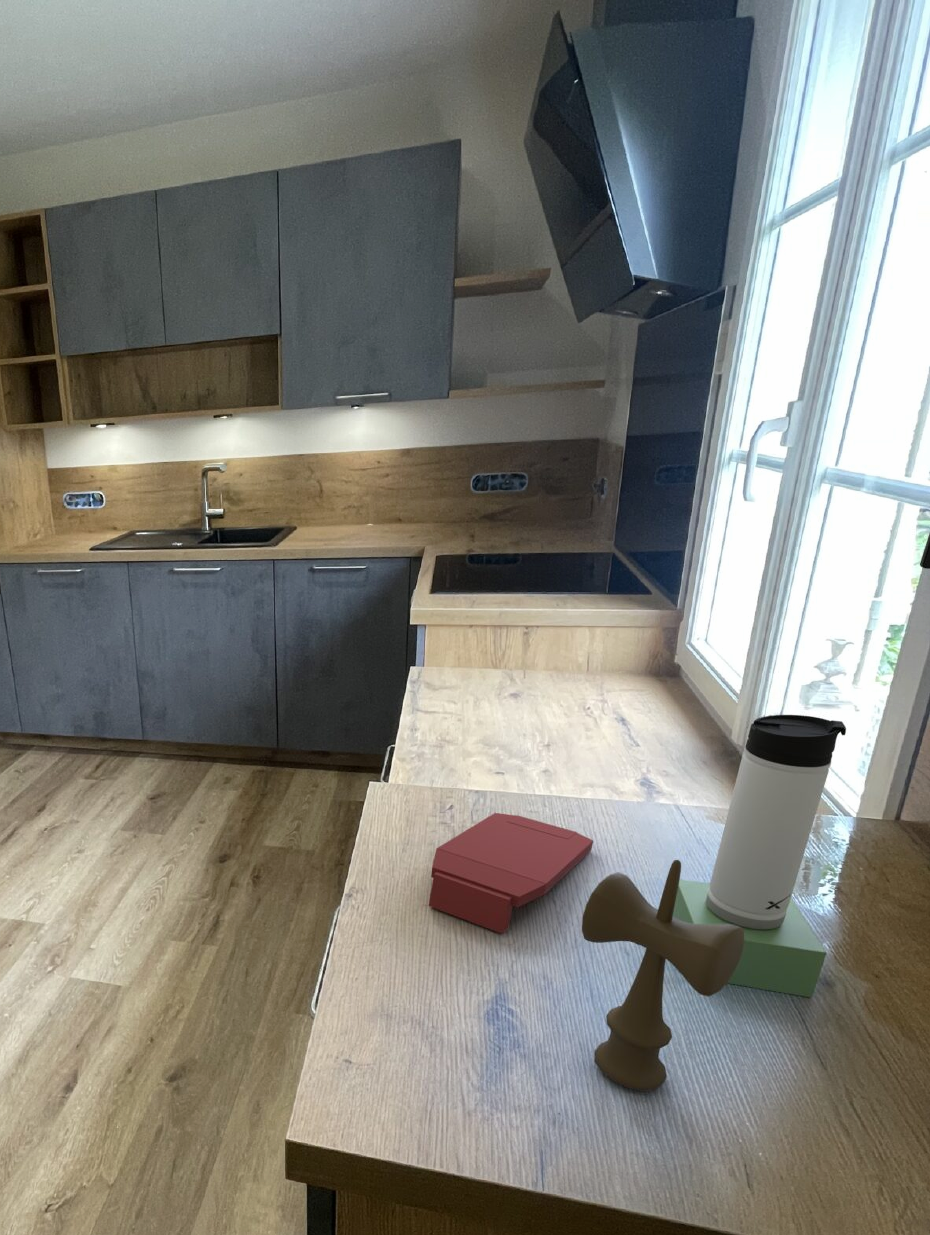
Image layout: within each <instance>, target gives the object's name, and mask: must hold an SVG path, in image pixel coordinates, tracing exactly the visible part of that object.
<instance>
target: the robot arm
mask: <svg viewBox="0 0 930 1235" xmlns="http://www.w3.org/2000/svg"><path fill="white" fill-rule="evenodd" d="M922 552H923V553H922V554H921V559H920V562H919V566H920V567H921V568H923V569H925V570H930V532H929V534H928V536H927V540H926V543H925V546H924V549H923V551H922Z"/></svg>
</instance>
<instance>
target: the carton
mask: <svg viewBox="0 0 930 1235" xmlns="http://www.w3.org/2000/svg"><path fill="white" fill-rule="evenodd" d="M593 844H594V840H593V839H591V838H589V837H587V836H585V835H583V834H581V833H578V832H577V831H575V830H572V829H569V828H568V829H567V828H563V827H560V826H557V825H553V824H549V823H546V822H542V821H539V820H535V819H532V818H528V817H524V816H521V815H517V814H516V815H515V814H506V813H500V812H494V813H492V814H490V815H489V816H487V817H486V818H484V819H483V820H480V821H479V822H477V823H476V824H474V825H473V826H470V827H469V828H468V829H466V830H464V831H463V832H461V833H459V834H458V835H456V836H454V837H453V838H451V839H450V840H447V841H446V842H445V843H443V844H441V845H440V846H438V847H437V848H436V849H435V853H434V857H433V862H432V867H431V876H430V878H432V883H431V889H430V893H429V894H430V895H429V900H428V907H430V908H433V909H436V910H439V911H441V912H444V913H446V914H449V915H451V916H455V917H456V918H459V919H463V920H465V921H467V922H470V923H473V924H476V925H477V926H480V927H483V928H487V929H489V930H491V931H494V932H497V933H499V934H503V933H504V932H506V931H507V930H508V929H509V928H510V923H511V919H512V914H513V908H520V907H523V906H524V905H526V904H528V903H530V902H533V901H535V900H537V899H538V898H541V897H542V896H544V895H546V894H547V893H548V892H549V891H550V890H551V889H552V888H553V887H554V886H555V885H556V884H558V883H559V881H561V879H563V878H564V877H565V876H566V875H567V874H568V873H569V872H570V871H571V870H573V869H574V867H575V866H577V865H578V864H579V863H580V862H581V861H582V860H583V859H584V858H585V857H586V856H587V855H588V854H590V852H592V849H593Z"/></svg>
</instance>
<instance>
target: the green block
mask: <svg viewBox="0 0 930 1235" xmlns="http://www.w3.org/2000/svg"><path fill="white" fill-rule="evenodd" d="M709 886H710V882H704V881H703V882H702V881H695V880H689V879H681V878H680V880H679V885H678V891H677V896H676V901H675V907H674V912H673V917H674V918H676V919H679V920H681V921H684V922H688V923H692V924H732V923H730V922H727V921H725V920H723V919H722V918H720V917H718V916H717V915H715V914H714V913H713V912H712V911H711V910H710V909H709V908H708V906H707V904H706V898H707V894H708V890H709V888H710V887H709ZM733 925H735V924H733ZM737 926H738V925H737ZM739 927H740V928H742V929H743V931H744V940H745V942H744V947H743V952H742V955H741V957H740V960H739V963H738V965H737V967H736V969H735V971H734V973H733V975H732V976H731V978H730V979H729V980H728V982H727V983H726V984H729V985H730V984H731V985H736V986H741V987H742V986H743V987H747V988H754V989H760V990H766V991H771V992H777V993H783V994H788V995H795V996H800V997H806V998H813V996H814V993H815V989H816V986H817V983H818V981H819V977H820V974H821V971H822V968H823V965H824V962H825V959H826V956H827V951H826V950H825V948H824V946H823V945H822V944H821V942H820V940H819V938H818V937H817V936H816V934H815V932H814V931H813V929H812V927H811V926H810V924H809V923H808V921H807V920H806V917H805V916H804V915H803V913H802V911H801V910H800V908H799V907H798V905H797V903H796V902H795V901H794V898H793V897H792V896H791V899H790V902H789V905H788V908H787V912H786V915H785V919H784V922H783V923H782V925H780V926H779V927H777V928H774V929H767V930H758V929H750V928H745V927H741V926H739Z"/></svg>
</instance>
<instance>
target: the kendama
mask: <svg viewBox="0 0 930 1235" xmlns="http://www.w3.org/2000/svg"><path fill="white" fill-rule="evenodd" d="M681 873H682V862H681V860H679V859H674V860H673V861H672V863H671V865H670V867H669V870H668V874H667V877H666V880H665V883H664V887H663V890H662V894H661V897H660V901H659V904H658V908H655V907H654V906H652V905H651V903H650V902H648V900H647V899H646V898H645V897H644V896H643V894H642V892H641V891H640V890H639V888H638V887H637V886H636V884H635V883H634V882H633V880H632V879H631V878H630V877H629V876H628V875H626V874H624V873H622V872H619V871H617V872H614V873H611V874H609V875H607V876H606V877H605V878H604V879H602V880H601V881H600V882H599V883H598V884H597V885H596V887H595V888H594V889H593V891H592V892H591V894H590V896H589V898H588V900H587V902H586V904H585V907H584V911H583V914H582V918H581V919H582V920H581V933H582V937H583V939H584V940H585V941H587V942H589V943H593V944H594V943H595V944H601V943H603V944H604V943H616V942H630V943H634V944H635V945H637V946H641V947H643V948H645V952H644V954H643V958H642V960H641V963H640V965H639V967H638V971H637V973H636V975H635V978H634V980H633V983H632V985H631V987H630V989H629V991H628V993H627V996H626V998H625V999H624V1001H623V1002H622V1005H618V1006H615V1007H613V1008H611V1009H610V1010H609V1011H608V1013H607V1014H606V1016H605V1018H606V1025H607V1027H608V1028H609V1030H610V1033H609V1037H608V1039H607V1040H606V1041H603V1042H601V1043H600V1044H599V1045H598V1046H597V1048H596V1049H595V1050H594V1053H593V1054H594V1063H595V1065H596V1066H597V1067H598V1068H599V1070H600V1071H601V1072H602V1073H603V1074H604V1075H606V1077H608V1078H609V1079H610V1080H612V1081H613V1082H615V1083H617V1084H619V1085H620V1086H623V1087H625V1088H628V1089H631V1090H636V1091H640V1092H642V1091H643V1092H645V1091H654V1090H657V1089H658V1088H660V1087H662V1086H663V1084H664V1083H665V1081H666V1079H667V1076H668V1075H667V1068H666V1066H665V1064H664V1063H663V1062H662V1061H661V1059H660V1058H659V1057H660V1051H661V1049H662V1048H664V1047H666V1046H668V1045H669V1044H670V1042H671V1040H672V1038H673V1034H672V1030H671V1028H670V1026H668V1024H666V1022H665V1020H664V1016H663V999H664V998H663V994H664V980H665V967H666V960H667V961H668V962H669V963H670V964H672V966H673V967H675V969H676V970H677V971H678V972H679V973H680V974H681V976H682V977H683V978H684V979H685V981H686V982H687V983H688V984H689V986H690V987H691V988H692V989H693V990H694V991H695V992H696V993H697V994H698V995H700V996H704V997H711V996H713V995H716V994H717V993H719V992H720V991H721V990H723V988H724V987H725V986H726V985H727V984H728V983H727V982H728V980H729V979H730V978H731V976H732V975H733V973H734V971H735V969H736V967H737V965H738V963H739V960H740V957H741V955H742V952H743V947H744V942H745V940H744V931H743V929H742V928H740V927H739V926H737V925H733V924H692V923H688V922H684V921H681V920H679V919H676V918H674V917H673V912H674V907H675V901H676V896H677V891H678V885H679V880H680V879H681Z"/></svg>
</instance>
